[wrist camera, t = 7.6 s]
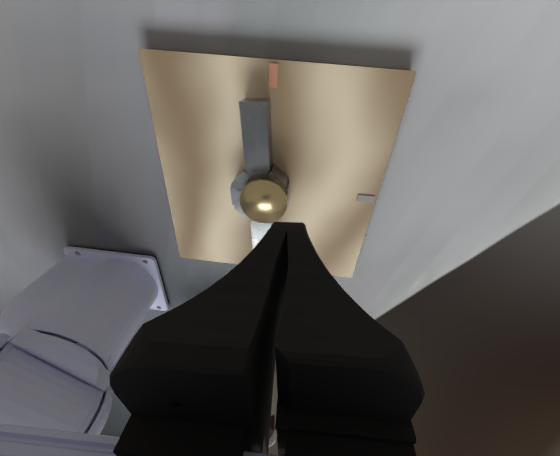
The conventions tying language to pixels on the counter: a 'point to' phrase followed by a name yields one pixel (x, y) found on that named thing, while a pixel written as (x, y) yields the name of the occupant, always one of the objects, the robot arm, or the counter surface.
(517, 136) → the counter surface
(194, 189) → the plate
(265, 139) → the t key
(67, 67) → the counter surface
